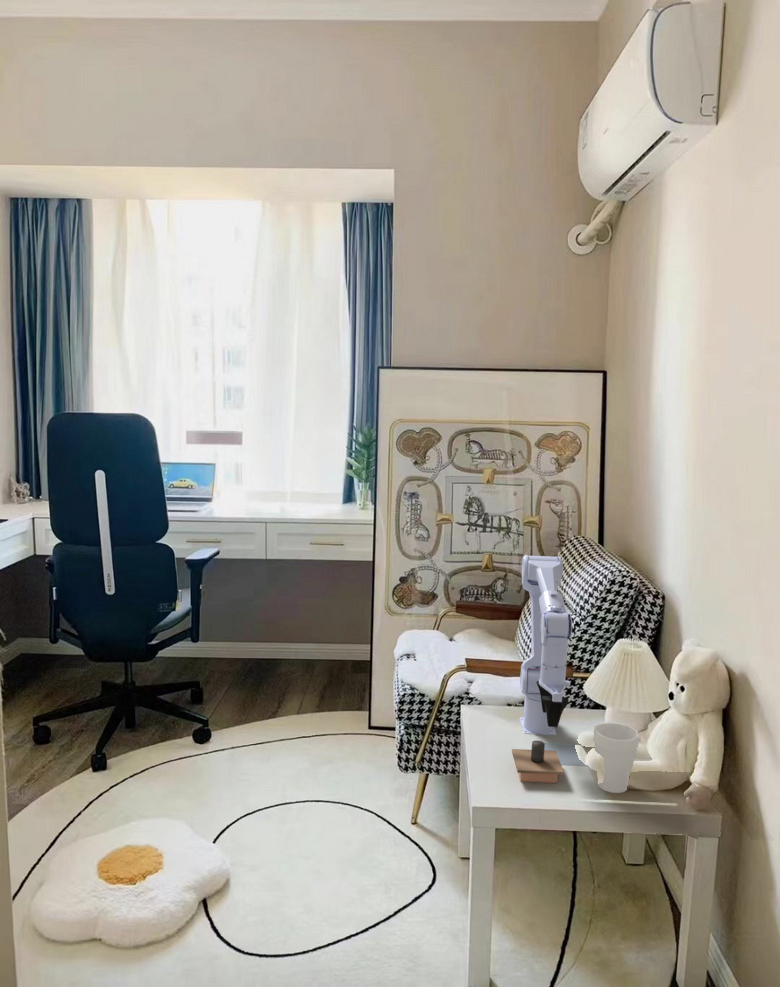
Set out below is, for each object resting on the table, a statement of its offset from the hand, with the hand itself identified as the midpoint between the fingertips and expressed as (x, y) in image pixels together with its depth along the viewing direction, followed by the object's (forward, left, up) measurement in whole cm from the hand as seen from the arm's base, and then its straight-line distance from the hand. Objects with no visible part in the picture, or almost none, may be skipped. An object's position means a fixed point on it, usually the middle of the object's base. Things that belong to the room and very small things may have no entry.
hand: (549, 719), depth 191 cm
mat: (-1, +4, -9) cm, 10 cm away
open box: (+9, -4, -9) cm, 14 cm away
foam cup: (+13, +12, -10) cm, 20 cm away
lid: (+9, -4, -6) cm, 12 cm away
